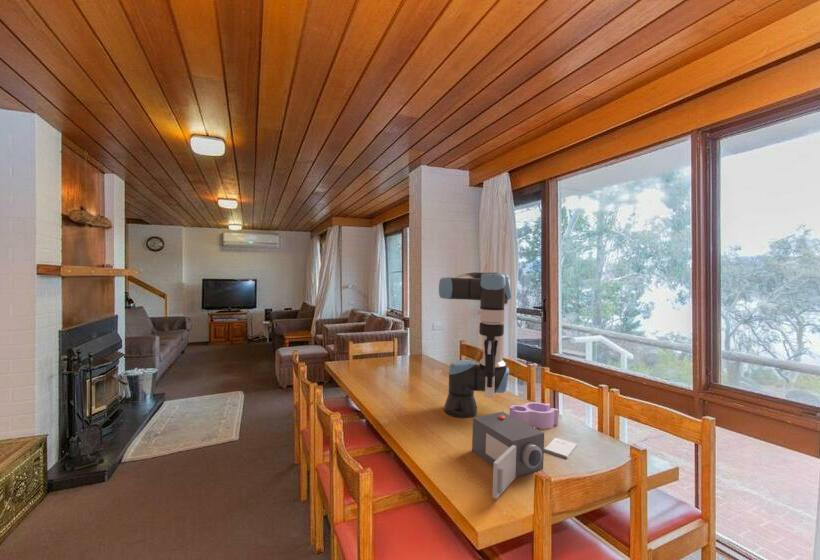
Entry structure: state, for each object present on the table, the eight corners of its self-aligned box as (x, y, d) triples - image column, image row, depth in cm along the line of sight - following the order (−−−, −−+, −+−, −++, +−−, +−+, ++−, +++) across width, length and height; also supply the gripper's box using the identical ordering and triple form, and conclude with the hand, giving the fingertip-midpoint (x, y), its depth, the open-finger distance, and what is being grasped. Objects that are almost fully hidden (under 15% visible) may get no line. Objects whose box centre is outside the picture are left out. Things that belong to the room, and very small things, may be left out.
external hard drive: (543, 453, 132) (554, 441, 142) (567, 460, 127) (576, 447, 137) (543, 448, 132) (554, 436, 142) (567, 456, 127) (577, 443, 137)
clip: (518, 431, 149) (519, 414, 149) (504, 419, 161) (505, 403, 161) (562, 428, 153) (562, 412, 153) (545, 416, 165) (545, 401, 165)
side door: (499, 500, 101) (500, 465, 101) (492, 497, 103) (493, 462, 102) (518, 478, 112) (519, 446, 112) (511, 476, 114) (512, 444, 113)
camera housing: (471, 450, 132) (472, 415, 131) (501, 442, 138) (502, 409, 138) (518, 484, 111) (519, 442, 111) (550, 473, 118) (551, 434, 118)
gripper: (481, 318, 122) (480, 388, 123) (477, 324, 109) (474, 401, 110) (505, 320, 119) (502, 390, 120) (502, 326, 107) (500, 405, 108)
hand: (489, 396), depth 115 cm, fingers closed
